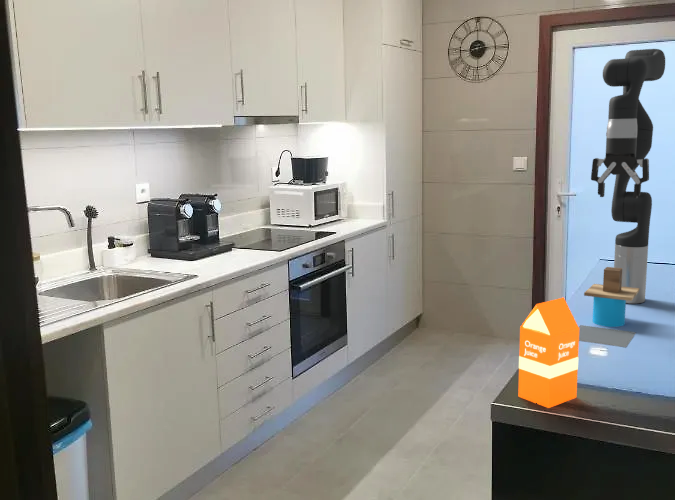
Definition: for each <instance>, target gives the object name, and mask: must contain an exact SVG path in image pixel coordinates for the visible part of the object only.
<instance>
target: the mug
mask: <svg viewBox="0 0 675 500" xmlns="http://www.w3.org/2000/svg"><path fill="white" fill-rule="evenodd" d="M592 304H593V306H592V324H594V325H598V326H601V327H610V328H616V327H623V326H625V324H626V322H625V321H626V304H627V303H626V300H620V299H611V298H602V297H593V303H592Z"/></svg>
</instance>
